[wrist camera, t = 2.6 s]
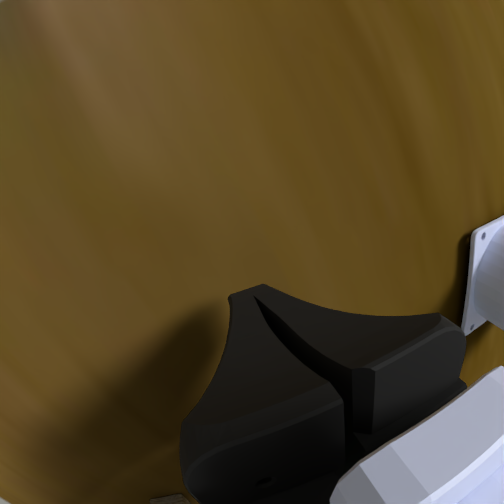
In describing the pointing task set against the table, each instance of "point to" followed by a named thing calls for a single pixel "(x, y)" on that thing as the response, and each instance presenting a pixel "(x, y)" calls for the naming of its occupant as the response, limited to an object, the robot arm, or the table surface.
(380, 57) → the table surface
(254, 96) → the table surface
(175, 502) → the vise
